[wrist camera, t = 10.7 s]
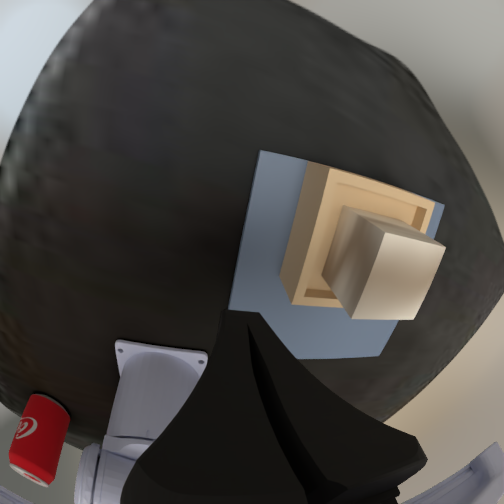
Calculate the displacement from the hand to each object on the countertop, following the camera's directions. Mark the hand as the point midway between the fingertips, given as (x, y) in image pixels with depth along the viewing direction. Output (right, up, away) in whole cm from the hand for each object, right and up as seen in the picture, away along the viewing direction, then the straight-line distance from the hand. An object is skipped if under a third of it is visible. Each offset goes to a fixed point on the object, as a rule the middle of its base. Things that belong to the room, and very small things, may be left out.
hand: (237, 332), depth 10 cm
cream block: (+7, +3, +7) cm, 10 cm away
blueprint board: (+7, +1, +11) cm, 13 cm away
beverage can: (-26, -17, +15) cm, 34 cm away
